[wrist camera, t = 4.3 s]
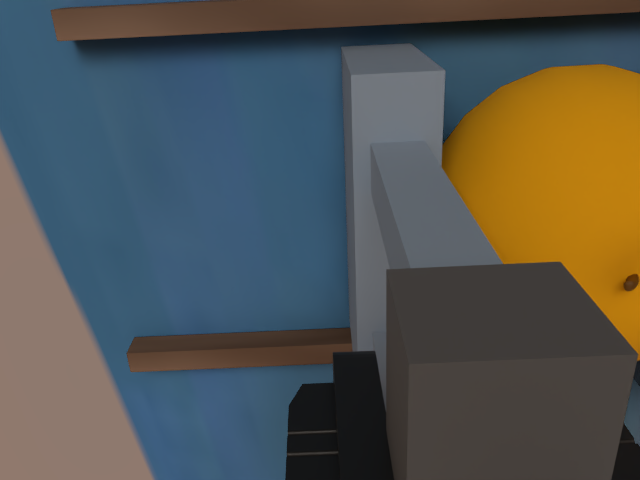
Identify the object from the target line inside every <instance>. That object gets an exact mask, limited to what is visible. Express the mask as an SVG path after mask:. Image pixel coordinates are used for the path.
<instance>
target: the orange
mask: <svg viewBox="0 0 640 480" xmlns="http://www.w3.org/2000/svg"><path fill="white" fill-rule="evenodd" d="M441 167H442V169H443V170H444V172H445V173H446V175H447V177H448V178H449V180H450V181H451V183H452V184H453V186H454V187H455V189H456V191H457V192H458V194H459V195H460V197H461V198H462V200H463V202H464V203H465V205H466V206H467V208H468V209H469V211H470V213H471V214H472V216H473V217H474V219H475V220H476V222H477V223H478V225H479V227H480V228H481V230H482V231H483V233H484V234H485V236H486V238H487V239H488V241H489V242H490V244H491V245H492V247H493V249H494V250H495V252H496V253H497V255H498V256H499V258H500V259H501V261H502V263H503V264H516V263H538V262H561V263H562V264H563V265H564V266H565V268H566V269H567V270H568V271H569V272H570V274H571V275H572V276H573V277H574V278H575V280H576V281H577V282H578V283H579V284H580V286H581V287H582V288H583V289H584V290H585V291H586V293H587V294H588V295H589V296H590V297H591V299H592V300H593V301H594V302H595V303H596V305H597V306H598V307H599V308H600V309H601V311H602V312H603V313H604V314H605V315H606V316H607V318H608V319H609V320H610V321H611V322H612V324H613V325H614V326H615V327H616V328H617V330H618V331H619V332H620V333H621V334H622V336H623V337H624V338H625V339H626V340H627V342H628V343H629V344H630V345H631V346H632V347H633V349H634V350H635V351H636V352H637V353H638V358H637V361H639V360H640V74H639V73H636V72H632V71H629V70H625V69H622V68H618V67H615V66H609V65H604V64H596V65H579V66H562V67H550V68H546V69H542V70H540V71H538V72H535V73H533V74H530V75H528V76H526V77H523V78H521V79H518V80H516V81H513V82H511V83H509V84H506V85H504V86H501V87H500V88H499V89H497V90H496V91H495V92H494V93H492V94H491V95H490V96H489V97H487V98H486V99H485V100H483V101H482V102H481V103H480V104H478V105H477V106H476V107H475V108H473V109H472V110H471V111H470V112H468V113H467V114H466V115H465V116H464V117H463V118H462V120H461V121H460V122H459V124H458V125H457V126H456V128H455V129H454V130H453V132H452V133H451V134H450V136H449V137H448V138H447V140H446V141H445V142H444V144H443V145H442V165H441Z"/></svg>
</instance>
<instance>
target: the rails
mask: <svg viewBox="0 0 640 480" xmlns="http://www.w3.org/2000/svg"><path fill="white" fill-rule="evenodd" d="M629 12H640V0H209V1H189V2H169V3H149V4H130V5H110V6H90V7H70V8H60V9H54V10H51V14H52V19H53V23H54V28H55V32H56V37H57V41H69V40H89V39H109V38H129V37H149V36H169V35H189V34H209V33H229V32H249V31H269V30H289V29H309V28H329V27H349V26H369V25H389V24H409V23H429V22H449V21H469V20H489V19H509V18H529V17H549V16H569V15H589V14H609V13H629ZM352 351H353V349H352V339H351V329H350V328H333V329H311V330H288V331H265V332H242V333H220V334H197V335H174V336H152V337H134V339H133V341H132V343H131V345H130V347H129V350H128V352H127V358H128V362H129V367H130V371H131V372H146V371H169V370H192V369H215V368H238V367H262V366H285V365H308V364H331V363H333V352H352Z"/></svg>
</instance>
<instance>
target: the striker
mask: <svg viewBox="0 0 640 480" xmlns="http://www.w3.org/2000/svg"><path fill="white" fill-rule="evenodd" d="M341 55H342V88H343V121H344V154H345V187H346V221H347V254H348V287H349V319H350V329H351V339H352V349H353V351H375V353H376V357H377V363H378V369H379V375H380V381H381V386H382V392H383V398H384V404H385V410H386V431H387V438H388V444H389V451H390V457H391V464H392V470H393V476H394V480H611V479H612V474H613V469H614V465H615V460H616V455H617V451H618V446H619V441H620V437H621V432H622V428H623V423H624V418H625V414H626V409H627V404H628V400H629V395H630V390H631V386H632V381H633V376H634V372H635V367H636V363H637V358H638V353H637V352H636V351H635V350H634V349H633V347H632V346H631V345H630V344H629V343H628V342H627V340H626V339H625V338H624V337H623V336H622V334H621V333H620V332H619V331H618V330H617V328H616V327H615V326H614V325H613V324H612V322H611V321H610V320H609V319H608V318H607V316H606V315H605V314H604V313H603V312H602V311H601V309H600V308H599V307H598V306H597V305H596V303H595V302H594V301H593V300H592V299H591V297H590V296H589V295H588V294H587V293H586V291H585V290H584V289H583V288H582V287H581V286H580V284H579V283H578V282H577V281H576V280H575V278H574V277H573V276H572V275H571V274H570V272H569V271H568V270H567V269H566V268H565V266H564V265H563V264H562V263H561V262H538V263H516V264H503V263H502V261H501V259H500V258H499V256H498V255H497V253H496V252H495V250H494V249H493V247H492V245H491V244H490V242H489V241H488V239H487V238H486V236H485V234H484V233H483V231H482V230H481V228H480V227H479V225H478V223H477V222H476V220H475V219H474V217H473V216H472V214H471V213H470V211H469V209H468V208H467V206H466V205H465V203H464V202H463V200H462V198H461V197H460V195H459V194H458V192H457V191H456V189H455V187H454V186H453V184H452V183H451V181H450V180H449V178H448V177H447V175H446V173H445V172H444V170H443V169H442V167H441V165H442V141H443V117H444V92H445V70H444V69H443V68H442V67H440V66H439V65H438V64H437V63H435V62H434V61H433V60H431V59H430V58H429V57H428V56H426V55H425V54H424V53H422V52H421V51H420V50H419V49H417V48H416V47H415V46H413V45H412V44H411V43H405V44H385V45H365V46H345V47H341Z"/></svg>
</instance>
